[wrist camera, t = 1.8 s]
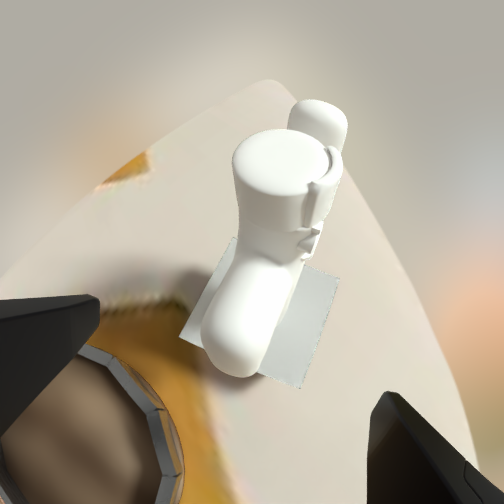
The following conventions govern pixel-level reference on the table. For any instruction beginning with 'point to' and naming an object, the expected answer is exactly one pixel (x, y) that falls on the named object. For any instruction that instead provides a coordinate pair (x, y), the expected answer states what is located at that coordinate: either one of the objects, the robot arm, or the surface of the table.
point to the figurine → (275, 251)
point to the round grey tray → (157, 421)
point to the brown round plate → (86, 442)
